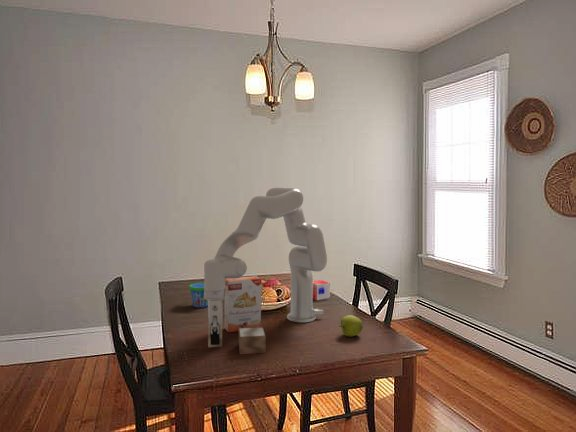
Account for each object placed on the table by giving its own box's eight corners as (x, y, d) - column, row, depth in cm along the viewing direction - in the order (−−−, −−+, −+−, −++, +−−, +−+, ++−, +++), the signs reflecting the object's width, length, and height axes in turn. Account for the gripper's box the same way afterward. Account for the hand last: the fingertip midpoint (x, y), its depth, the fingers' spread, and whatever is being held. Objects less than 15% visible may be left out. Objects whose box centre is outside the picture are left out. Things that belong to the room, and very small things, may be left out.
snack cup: (184, 303, 221) (183, 283, 220) (204, 300, 227) (204, 280, 226) (197, 311, 208) (197, 290, 208) (218, 308, 214) (218, 286, 214)
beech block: (222, 341, 172) (221, 323, 171) (222, 346, 167) (222, 327, 166) (208, 342, 171) (208, 324, 170) (208, 347, 166) (208, 328, 165)
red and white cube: (320, 294, 240) (320, 279, 239) (329, 298, 233) (329, 283, 233) (307, 296, 236) (308, 281, 235) (316, 300, 229) (316, 284, 228)
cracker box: (228, 333, 181) (227, 281, 179) (224, 328, 186) (223, 277, 184) (261, 328, 186) (261, 278, 184) (256, 324, 192) (256, 275, 190)
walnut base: (263, 343, 170) (263, 327, 169) (265, 352, 161) (265, 335, 160) (238, 344, 168) (238, 328, 168) (239, 354, 160) (239, 336, 159)
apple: (335, 334, 180) (335, 314, 180) (355, 331, 184) (355, 311, 183) (345, 340, 173) (345, 320, 172) (365, 337, 177) (366, 317, 176)
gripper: (225, 299, 159) (225, 348, 161) (224, 287, 176) (225, 331, 178) (203, 300, 158) (204, 349, 159) (205, 288, 175) (205, 332, 177)
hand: (215, 339), depth 169 cm, fingers open, 8 cm apart
